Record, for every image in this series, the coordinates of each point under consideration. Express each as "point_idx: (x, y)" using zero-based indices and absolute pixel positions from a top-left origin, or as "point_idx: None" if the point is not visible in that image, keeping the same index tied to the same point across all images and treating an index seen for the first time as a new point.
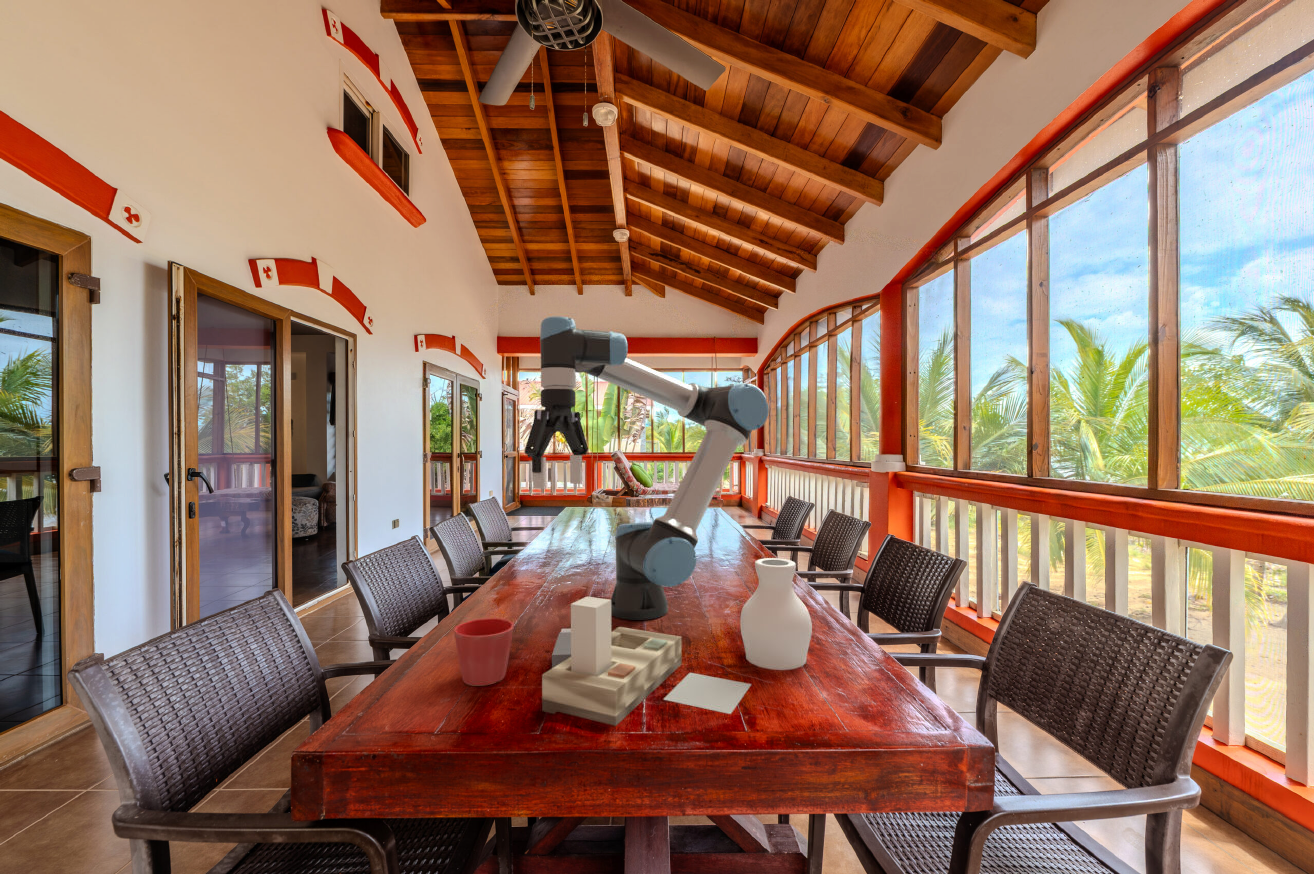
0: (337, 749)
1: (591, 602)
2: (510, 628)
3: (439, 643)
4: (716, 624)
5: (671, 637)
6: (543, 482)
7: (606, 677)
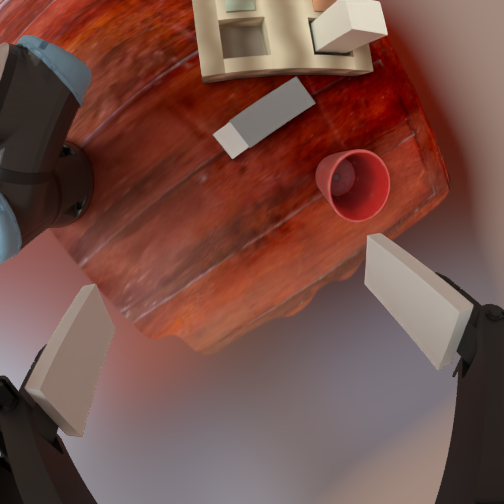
0: (444, 177)
1: (368, 13)
2: (350, 152)
3: (292, 292)
4: None
5: (201, 2)
6: (394, 244)
7: None
